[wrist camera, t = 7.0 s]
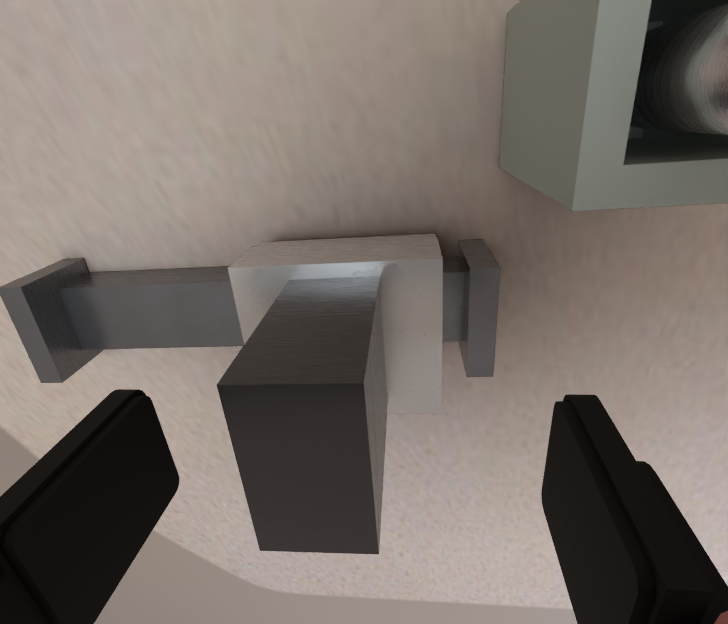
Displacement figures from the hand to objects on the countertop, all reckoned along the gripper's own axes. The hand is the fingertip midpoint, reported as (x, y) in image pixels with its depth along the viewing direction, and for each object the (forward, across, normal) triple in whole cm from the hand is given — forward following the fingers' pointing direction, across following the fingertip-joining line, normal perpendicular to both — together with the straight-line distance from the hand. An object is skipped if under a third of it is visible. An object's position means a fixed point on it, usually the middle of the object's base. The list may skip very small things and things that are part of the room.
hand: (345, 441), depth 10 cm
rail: (+10, +5, +1) cm, 11 cm away
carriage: (+10, +1, +1) cm, 10 cm away
